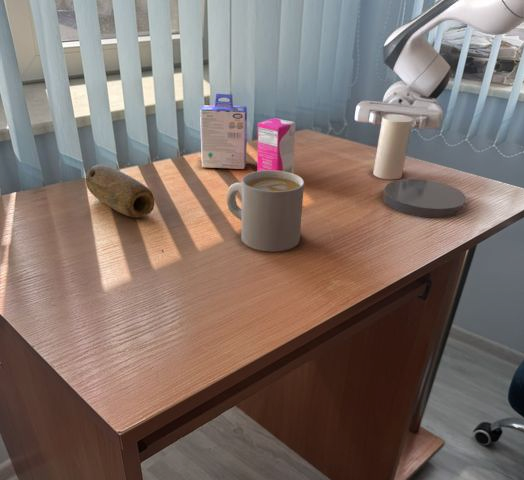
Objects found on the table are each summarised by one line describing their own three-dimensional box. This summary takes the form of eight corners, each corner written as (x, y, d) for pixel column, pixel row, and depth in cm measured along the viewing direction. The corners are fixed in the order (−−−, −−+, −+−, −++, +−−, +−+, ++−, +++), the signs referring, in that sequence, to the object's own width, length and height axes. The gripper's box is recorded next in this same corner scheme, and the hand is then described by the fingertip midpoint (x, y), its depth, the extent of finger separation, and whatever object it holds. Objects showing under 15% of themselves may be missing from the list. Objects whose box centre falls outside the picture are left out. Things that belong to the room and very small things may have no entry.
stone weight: (81, 202, 98) (75, 166, 94) (112, 192, 103) (107, 158, 98) (131, 226, 91) (126, 188, 87) (162, 214, 95) (159, 178, 91)
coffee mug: (310, 238, 89) (316, 180, 83) (273, 257, 83) (277, 197, 77) (253, 215, 96) (254, 161, 90) (215, 232, 90) (213, 174, 84)
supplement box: (272, 171, 116) (274, 116, 109) (293, 178, 113) (297, 122, 106) (255, 178, 112) (257, 121, 105) (277, 185, 109) (280, 127, 102)
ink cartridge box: (246, 162, 120) (247, 93, 111) (245, 170, 116) (246, 99, 107) (204, 160, 120) (201, 91, 111) (201, 168, 116) (198, 97, 107)
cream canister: (393, 169, 120) (404, 113, 113) (406, 178, 115) (418, 121, 108) (368, 170, 119) (377, 114, 111) (380, 180, 114) (390, 122, 106)
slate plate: (437, 185, 113) (439, 176, 112) (480, 214, 101) (483, 205, 99) (370, 189, 109) (371, 181, 108) (405, 220, 97) (407, 211, 96)
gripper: (359, 91, 129) (353, 103, 118) (443, 99, 125) (446, 112, 115) (355, 118, 133) (349, 132, 122) (437, 126, 129) (438, 142, 119)
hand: (397, 123), depth 118 cm, fingers open, 8 cm apart
